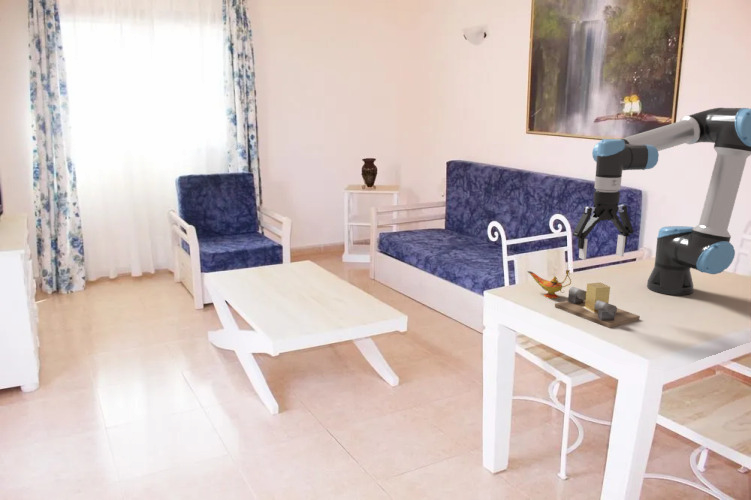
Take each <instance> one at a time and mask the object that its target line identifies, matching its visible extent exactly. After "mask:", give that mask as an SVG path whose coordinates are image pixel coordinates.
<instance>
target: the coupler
mask: <svg viewBox="0 0 751 500" xmlns="http://www.w3.org/2000/svg"><path fill="white" fill-rule="evenodd" d="M610 289H611V286H609V285H608V284H607V285H606V284H605V283H603V282H591V283H590V282H589V283H586V290H585V291H586V301H585V307H586V308H587V309H589V310H591V311H593V312H598V310H596V309H595V307H594V306H595V303H596V301H598V300H600V301H602V302H605V303H608V304H610V301H609V300H610V294H611V293H610V292H611V290H610Z"/></svg>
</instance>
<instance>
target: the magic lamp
mask: <svg viewBox="0 0 751 500" xmlns="http://www.w3.org/2000/svg"><path fill="white" fill-rule="evenodd" d="M570 271H571V270H570V269H567V270H566V271H565V274H566V275H565V277H564V280H563V281H561V282H560V281H559V279H558V277H557V276H553V278H551V280H547V279H544V278H541V277H540V276H539V275H538V274H536V273H535V272H533V271H530V270H529V271H527V273H528V274H529V275H531V277H532V279H534V281H535V282H536V283H537V284H538V286H540V287H541V288H542V289H544V291H546V292H547V293H545V294H543V297H544V296H545V298H547V297H548V298H547V299H558V298H559V295H558V294H556V293H557V292H561V293H563V294H564V293H565V291H563V292H562V289H563V288H565V287H568V286H570V285H571V284H572V279H571V278H570V275H571V272H570ZM567 277H568V280H569V281H570V282H569V283H568V284H565V281H566V280H567ZM563 284H565V285H563Z"/></svg>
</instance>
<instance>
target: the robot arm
mask: <svg viewBox="0 0 751 500" xmlns="http://www.w3.org/2000/svg"><path fill="white" fill-rule="evenodd" d="M697 143H712V144H714V145H713V149H714V151H715V152H716V158H715V161H714V164H713V170H712V173H711V175H710V176H711V177H710V181H709V185H708V189H707V192H706V196H705V198H704V199H705V200H704V203H703V208H702V211H701V215H700V218H699V222H698V225H696V226H695V227H694V226H688V225H687V226H685V225H684V226H683V225H682V226H680V225H679V226H678V225H672V226H671V225H670V226H663V227H661V228H660V229H659V231H658V234H657V237H656V248H655V258H654V267H653V269H652V271H651V273H650V275H649V277H648V280H647V284H646V287H647V288H648V290H651V291H653V292H656V293H660V294H664V295H670V296H671V295H672V296H685V295H691V294H693V292H694V281H693V278H692V273H691V269H692V270H696V271H698V272H700V273H704V274H709V275H717V274H721V273H723V272H724V271H725V270H727V269H728V268H729V267H730V266H731V264H732V263H733V261H734V259H735V255H736V251H735V250H736V249H735V247H734V245H733V244H732V243H731V242H730V241H731V237H732V235H731V234H730V233H729V231H728V229H729V224H730V221H731V218H732V215H733V214H732V213H733V210H734V208H735V207H734V206H735V204H736V199H737V195H738V191H739V188H740V184H741V182H742V177H743V174H744V170H745V166H746V164H747V159H748V158H749V157H751V108H749V107H715V108H710V109H705V110H701V111H700V112H696V113H692V114H690V115H686V116H683V117H682V118H680V120H679V121H677V122H673V123H671V124H667V125H663V126H659V127H657V128H653V129H650V130H646V131H643V132H641V133H636V134H632V135H629V136H627V137H623V138H620V139H619V138H617V139H615V138H603V139H601V140H599V141H598V142H597V143H596V144H595V145H594V147H593V148H592V158H593V161H595V163H596V167H595V177H594V189H595V190H594V192H593V200H592V201H593V206H587V205H586V206H584V207H583V212H582V215H581V217H580V218H579V220H578V223H577V225H576V227H575V229H574V231H573V233H572V236H573V237H576V238H577V239H578V240H577V248H578V249H579V251H578V252H579V253H578V257H579V259H581V260H584V261H585V260H587V252H588V240H589V239H588V238H587V236H588V235H589V234H590V233H591V232H592V230H593V229H594V228H595V226H596V225H597V224H598V223H600V222H601V221H602V222H605V221H611V222H612V224H613V225H614V227H615V228H616V229H617V231H618V232H619V233H620V234H617V244H616V251H615V255H616V256H619V257H624V255H625V246H627V243H628V237H630V236H631V234H634V228H633V226H632V225H633V224H632V222H631V220H630V217H629V213H628V205H627V204H626V205H625V204H621V203H620V196H621V192H620V190H621V188H622V186H621V185H622V176H623V175H622V174H623V171H635V170H636V171H639V170H640V171H641V170H642V171H645V170H651V169H653V168H655V166H657V165H658V163H659V162H658V161H659V155H660V154H659V152H660V151H663V150H667V149H670V148H674V147H676V146H681V145H683V144H686V145H693V144H697ZM619 203H620V204H619ZM617 213H618V214H619V215H618V214H617ZM620 219H621V220H620Z"/></svg>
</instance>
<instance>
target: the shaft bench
mask: <svg viewBox="0 0 751 500" xmlns="http://www.w3.org/2000/svg"><path fill="white" fill-rule="evenodd" d="M567 298H568V299H567V300H564V301H560V302H556V303H554V307H555V308H557V309H558V310H561V311H564V312H567V313H570V314H573V315H575V316H577V317H580V318H582V319H584V320H587V321H591V322H593V323H595V324H597V325H600V326H603V327H606V328H609V329H611V328H614V327H617V326H621V325H625V324H629V323H632V322H636V321H639V320H640V315H638V314H635V313H632V312H629V311H627V310H624V309H621V308H618V307H617V306H616V305H614V304H611V303H605V302H602V301H600V300H598V301H596V303H595V306H594V307H595V309H596V310H598V312H593V311H591V310H589V309H587V308H586V307H585V301H586V290H584V289H582V288H581V289H580V288H577V287H574V286H571V287H569V290H568V297H567Z"/></svg>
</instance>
